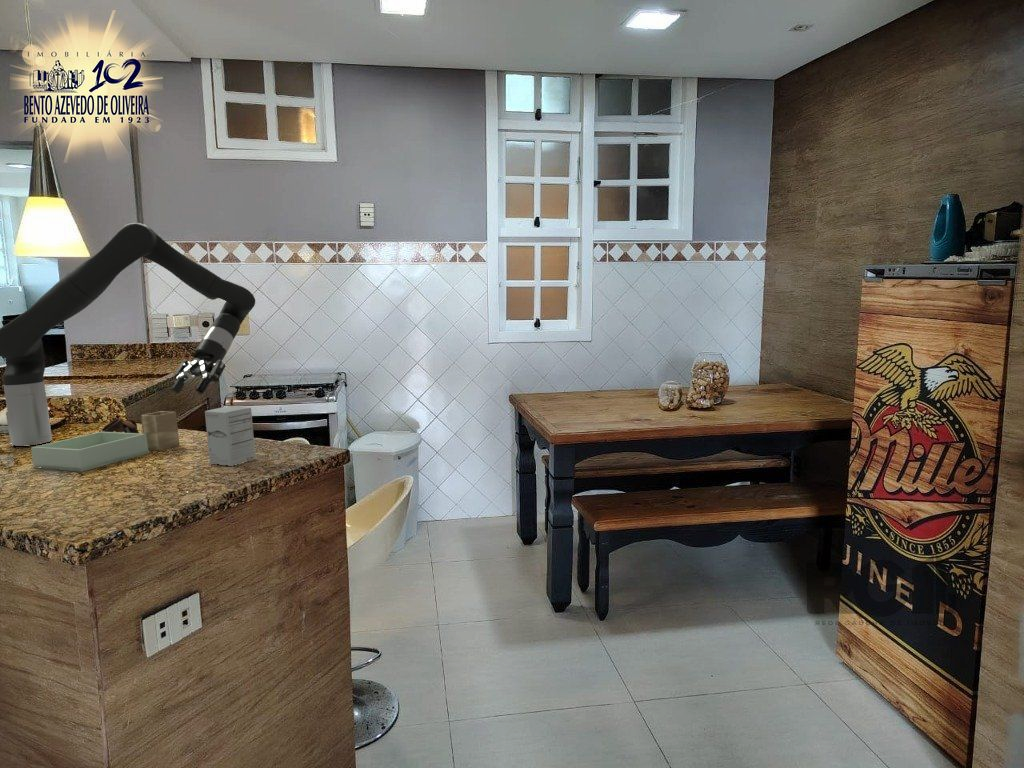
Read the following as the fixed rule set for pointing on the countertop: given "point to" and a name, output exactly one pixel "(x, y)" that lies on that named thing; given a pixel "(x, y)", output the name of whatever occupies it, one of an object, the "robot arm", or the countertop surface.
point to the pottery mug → (121, 426)
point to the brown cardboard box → (160, 430)
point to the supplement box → (230, 435)
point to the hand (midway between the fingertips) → (186, 392)
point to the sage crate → (89, 451)
